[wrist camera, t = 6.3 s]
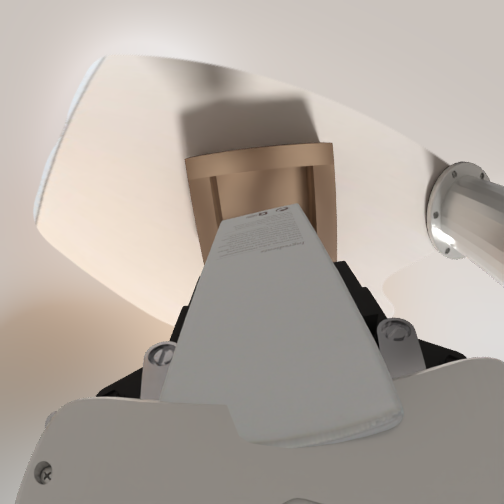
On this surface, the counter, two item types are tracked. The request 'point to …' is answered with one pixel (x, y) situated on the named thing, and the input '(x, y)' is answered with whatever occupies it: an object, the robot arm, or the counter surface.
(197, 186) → the wooden tray
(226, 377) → the skincare box
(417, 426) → the robot arm
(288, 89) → the counter surface
